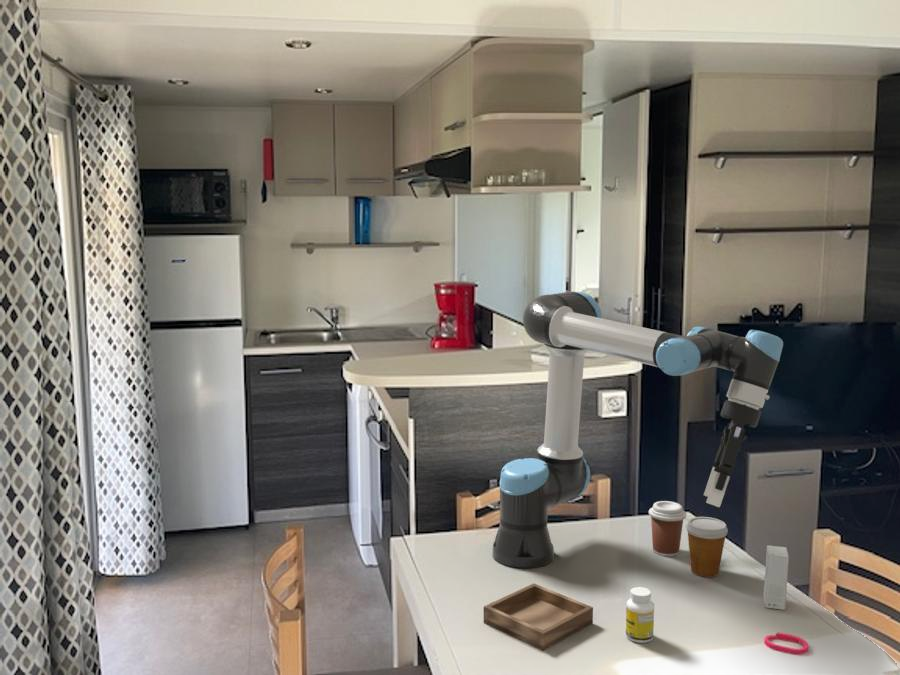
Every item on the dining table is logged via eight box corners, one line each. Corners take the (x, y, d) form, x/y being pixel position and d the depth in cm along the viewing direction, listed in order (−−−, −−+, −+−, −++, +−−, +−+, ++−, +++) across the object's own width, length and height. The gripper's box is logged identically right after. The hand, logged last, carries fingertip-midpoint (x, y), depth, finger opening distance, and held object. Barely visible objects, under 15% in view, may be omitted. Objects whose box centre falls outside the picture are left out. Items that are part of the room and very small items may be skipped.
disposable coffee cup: (727, 581, 198) (730, 532, 196) (685, 578, 200) (687, 528, 198) (723, 565, 207) (725, 517, 206) (682, 561, 209) (684, 514, 207)
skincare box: (785, 610, 184) (789, 557, 182) (764, 608, 185) (767, 555, 183) (783, 598, 190) (786, 546, 188) (763, 596, 191) (766, 544, 189)
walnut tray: (483, 622, 178) (483, 606, 178) (533, 598, 190) (533, 583, 189) (543, 650, 167) (543, 633, 167) (592, 623, 178) (593, 607, 178)
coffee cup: (647, 556, 212) (649, 510, 210) (647, 543, 221) (648, 498, 219) (685, 560, 210) (687, 513, 208) (683, 546, 219) (685, 500, 217)
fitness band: (809, 645, 170) (809, 637, 170) (807, 658, 165) (807, 651, 165) (765, 636, 174) (766, 629, 173) (762, 649, 168) (763, 642, 168)
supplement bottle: (622, 631, 175) (623, 585, 173) (648, 630, 175) (649, 584, 174) (629, 644, 170) (631, 597, 168) (656, 643, 170) (658, 596, 169)
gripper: (768, 411, 166) (733, 515, 166) (755, 409, 190) (725, 500, 190) (729, 398, 167) (695, 501, 168) (722, 398, 192) (691, 488, 192)
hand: (711, 501), depth 179 cm, fingers open, 13 cm apart
